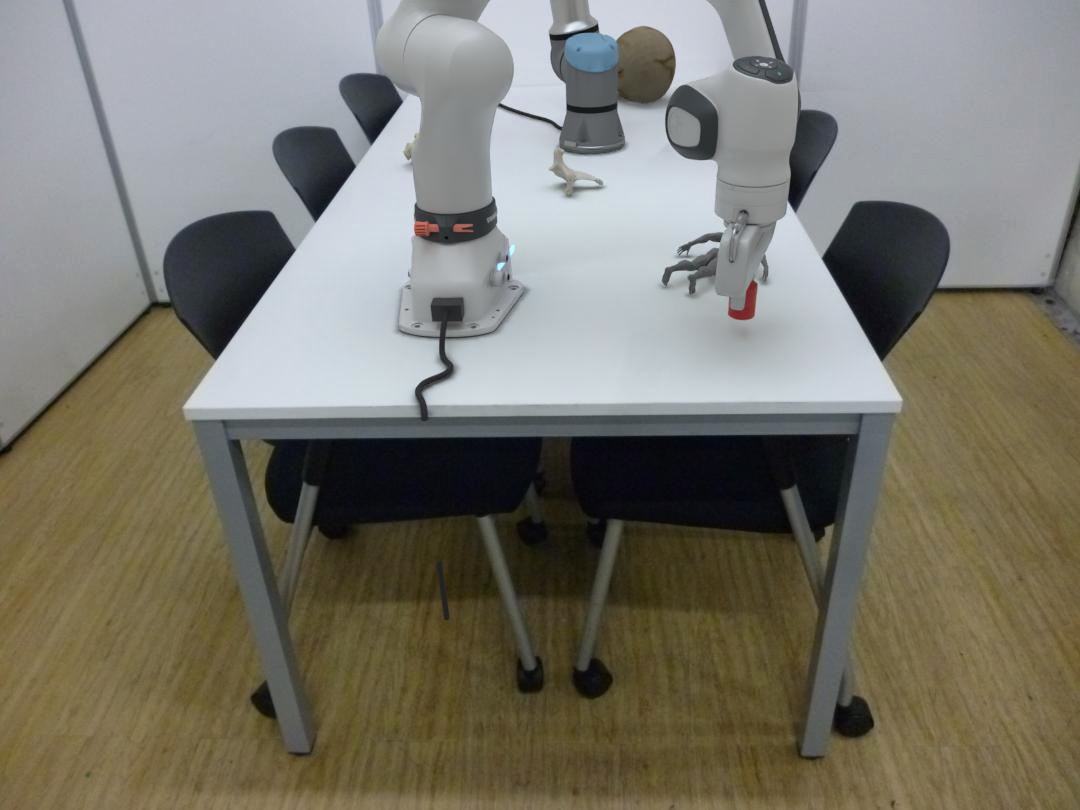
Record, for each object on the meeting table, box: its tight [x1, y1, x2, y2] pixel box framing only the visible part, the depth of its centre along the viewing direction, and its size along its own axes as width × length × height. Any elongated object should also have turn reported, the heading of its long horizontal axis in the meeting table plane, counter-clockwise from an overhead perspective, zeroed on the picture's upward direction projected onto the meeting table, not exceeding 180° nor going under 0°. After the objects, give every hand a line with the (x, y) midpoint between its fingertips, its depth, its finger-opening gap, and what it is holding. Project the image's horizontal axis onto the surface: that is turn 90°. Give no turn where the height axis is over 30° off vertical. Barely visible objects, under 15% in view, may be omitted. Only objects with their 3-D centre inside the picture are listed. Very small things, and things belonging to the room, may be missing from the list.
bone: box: [547, 147, 604, 196], centre depth 167 cm, size 10×6×10 cm
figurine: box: [661, 231, 769, 295], centre depth 130 cm, size 17×4×20 cm
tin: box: [727, 280, 759, 321], centre depth 111 cm, size 4×4×4 cm
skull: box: [615, 25, 677, 104], centre depth 227 cm, size 16×22×25 cm
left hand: (741, 299), depth 111 cm, fingers closed on tin, 3 cm apart
